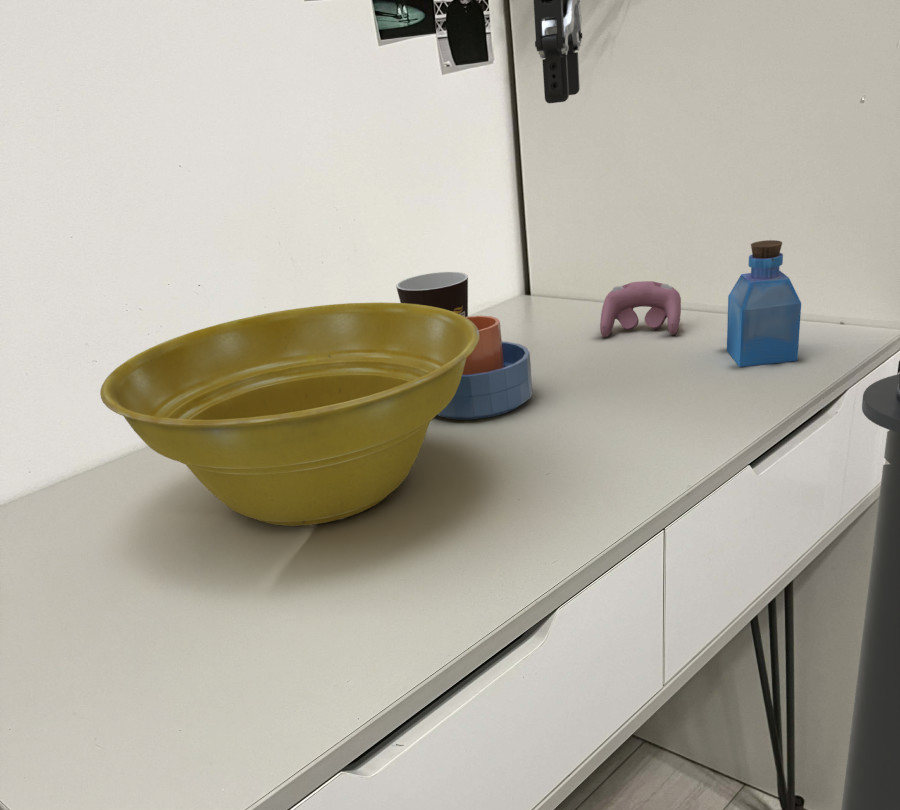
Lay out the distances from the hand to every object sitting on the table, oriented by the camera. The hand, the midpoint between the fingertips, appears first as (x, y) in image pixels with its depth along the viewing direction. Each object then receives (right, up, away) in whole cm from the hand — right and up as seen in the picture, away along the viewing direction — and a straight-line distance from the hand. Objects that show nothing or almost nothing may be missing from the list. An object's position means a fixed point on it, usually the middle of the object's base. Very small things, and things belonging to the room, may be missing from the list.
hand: (563, 98), depth 94 cm
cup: (-8, -27, +10) cm, 30 cm away
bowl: (-8, -28, +10) cm, 31 cm away
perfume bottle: (+24, -22, +12) cm, 35 cm away
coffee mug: (-14, -21, +24) cm, 35 cm away
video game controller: (+13, -16, +26) cm, 33 cm away
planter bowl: (-23, -40, -6) cm, 46 cm away
